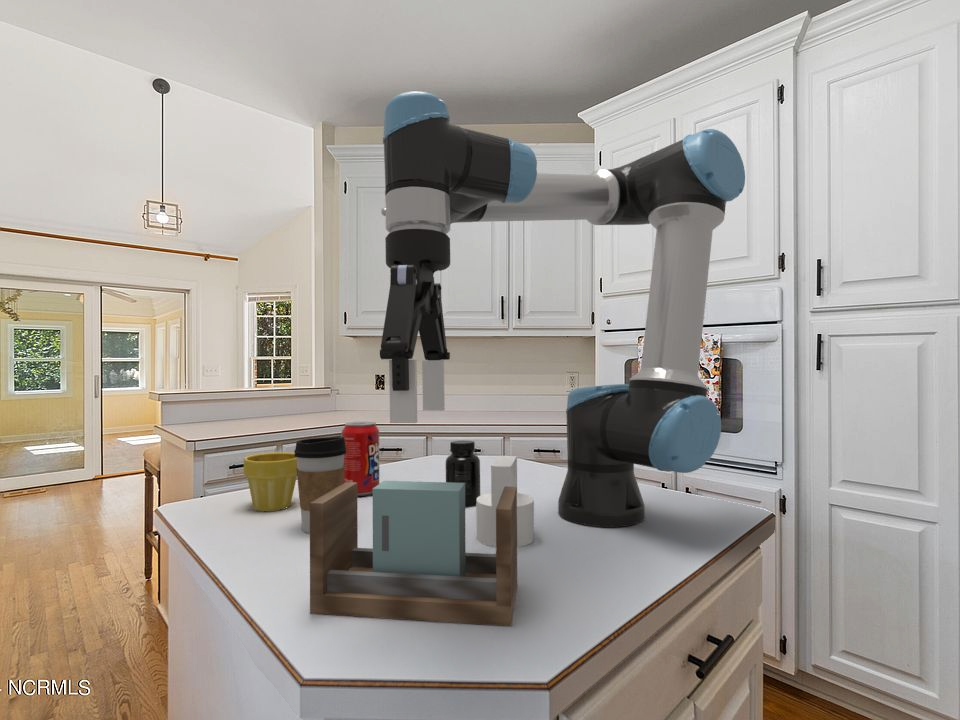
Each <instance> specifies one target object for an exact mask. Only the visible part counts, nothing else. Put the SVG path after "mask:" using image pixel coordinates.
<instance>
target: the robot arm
mask: <svg viewBox="0 0 960 720" xmlns="http://www.w3.org/2000/svg"><path fill="white" fill-rule="evenodd" d="M384 111H385V112H384V120H383V138H382V144H383V154H384V159H383V160H384V182H385V183H384V184H385V185H384V186H385V190H384V195H385V197H384V198H385V199H384V200H385V202H384V203H385V207H382V208H381V215H382V216H384V217H385V229H386V231H387V232H388V234H387V235H386V236H385V239H384V240H385V264H386V266H387V267H388V268H389V269H390V275H389V276H390V279H389V281H390V285H389V290H388V299H387V304H386V311H385V317H384V323H383V330H382V337H381V344H380V349H379V357H380V359H381V360H388V363H389V365H388V371H389V373H388V377H389V381H388V383H389V385H388V386H389V423H390V424H417V423H418V379H417V378H418V375H417V373H418V371H417V369H418V368H417V361H418V360H417V359H413V357H414V355H415V354H414V353H415V348H416V343H417V341H418V340H417V339H418V334H419V338H420V342H421V347H422V351H423V357H424V359H425V360H422V362H421V363H422V364H421V366H422V367H421V368H422V369H421V370H422V379H421V380H422V411H423V412H425V411H429V412H430V411H432V412H434V411H435V412H436V411H438V412H439V411H440V412H442V411H445V410H446V409H445V408H446V407H445V361H446V360H448V361H449V360H450V359H451V353H450V352H449V350H448V348H447V347H448V346H447V338H446V330H445V322H444V321H445V319H444V313H443V312H444V311H443V304H442V303H443V302H442V286H441V283H440V282H436V283H435V277H434V274H435V272H438V271H439V272H440V271H445V270H447V269H448V268H449V267H450V266H451V238H450V236H449V235H448V233H449V232H450V231H451V225H452V224H455V223H457V224H458V223H460V224H461V223H474V222H475V223H482V222H483V223H484V222H486V223H487V222H528V221H531V222H534V221H538V222H539V221H576V220H577V221H578V220H579V221H583V220H584V221H587V222H589V224H591V225H594V226H638V225H639V226H640V225H641V226H642V225H649V224H650V225H651V226H652V227H653V228H654V229H655V230H656V233H655V242H654V250H653V260H652V267H651V268H652V269H651V277H650V284H649V293H648V304H647V313H646V319H645V329H644V338H643V347H642V355H641V363H640V364H641V365H640V369H639V370H638V372H637V373H635V374H634V375H633V376H632V377H630V378H629V382H628V383H625V384H624V383H623V384H622V383H621V384H605V385H593V386H592V385H591V386H585V387H578V388H575V389H572V390H571V391H570V392H568V395H567V404H566V410H565V413H566V440H567V441H566V443H567V444H566V448H567V451H566V452H567V453H566V454H567V470H566V475H565V478H564V481H563V484H562V487H561V491H560V494H559V497H558V501H557V503H558V504H557V505H558V507H557V509H558V510H557V511H558V512H557V513H558V515H559V516H560V517H561V518H563V519H564V520H567V521H570V522H573V523H575V524H580V525H585V526H592V527H601V528H602V527H603V528H605V527H606V528H610V527H611V528H612V527H613V528H616V527H617V528H618V527H627V526H628V527H629V526H632V525H637V524H640V523H641V522H643V521H644V520H645V518H646V515H645V514H646V512H645V511H646V507H645V502H644V499H643V497H642V494H641V493H642V492H641V489H640V486H639V484H638V482H637V478H636V474H635V465H638V466H643V467H648V468H653V469H656V470H657V471H660V472H667V473H668V472H673V473H678V474H679V473H681V474H688V473H692V472H695V471H697V470H699V469H701V468H702V467H703V466H705V465H706V462H708V461H710V460H711V458H712V457H713V455H714V453H715V451H716V450H717V448H718V445H719V442H720V438H721V433H722V419H721V415H719V408H718V406H717V405H716V404H715V402H714V401H712V400H711V399H709V398H708V396H707V394H708V386H707V385H706V384H705V383H704V382H703V381H702V380H701V378H700V377H699V369H700V368H699V367H700V358H701V347H702V340H703V339H702V338H703V328H704V319H705V318H704V317H705V308H706V301H707V300H706V299H707V291H708V289H707V288H708V281H709V280H708V279H709V271H710V259H711V251H712V250H711V249H712V241H713V231H714V230H715V229H716V228H717V227H719V226H720V225H721V224H722V223H723V222H724V221H725V215H726V205H727V202H733V200H734V199H737V198H738V197H739V196H740V194H742V192H743V191H744V188H745V185H746V172H745V171H746V170H745V166H744V165H745V164H744V162H743V159H742V156H741V154H740V152H739V150H738V148H737V146H736V145H735V143H734V142H733V141H732V139H731V138H730V137H729V136H728V135H727V134H726V133H724V132H722V131H720V130H718V129H714V128H706V129H703V130H701V131H698V132H696V133H693V134H687V135H685V136H684V137H683V138H682V139H681V140H678V141H676V142H674V143H671V144H670V145H668V146H665V147H663V148H660V149H658V150H656V151H653V152H651V153H648V154H646V155H645V156H642V157H639V158H638V159H635V160H633V161H631V162H628V163H626V164H624V165H621V166H619V167H615V168H612V169H611V168H610V169H609V168H608V169H605V168H603V169H602V168H601V169H596V170H595V171H593V172H591V173H589V174H576V173H575V174H570V173H545V172H544V173H543V172H542V173H540V172H538V171H537V169H538V161H537V156H536V154H535V152H534V151H533V149H532V148H531V147H530V146H528V145H527V144H524V143H521V142H517V141H515V140H512V139H510V138H509V137H506V138H505V137H503V136H502V137H501V136H497V135H493V134H489V133H485V132H482V131H481V132H480V131H478V130H472V129H468V128H463V127H461V126H459V125H455V124H452V123H450V120H451V117H450V114H449V108H448V106H447V104H446V102H445V101H444V100H443V99H440V98H439V97H438V96H437V95H436V94H433V93H430V92H426V91H416V90H414V91H406V92H402V93H400V94H399V93H398V94H397V95H395V96H394V97H392V99H391V100H389V101H388V103H387V105H386V107H385V110H384Z"/></svg>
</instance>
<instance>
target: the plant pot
mask: <svg viewBox="0 0 960 720" xmlns="http://www.w3.org/2000/svg"><path fill="white" fill-rule="evenodd" d="M294 454H295V453H294V452H290V451H289V452H286V451H285V452H284V451H283V452H282V451H281V452H280V451H278V452H276V451H275V452H262V453H255V454H251V455H247V456H245V457H244V459H243V476H244V477H245V478H247V483H248V487H249V493H250V497H251V503H252V508H253V509H254V510H255V511H257V510H258V511H257V512H264V511H267V512H275V511H274V510H277V511H281V510H280V509H282V510H284V508H285V509H287V508H286V507H288V506H289V507H291V505H292V500H293V495H294V490H295V488H296V487H295V486H296V481H297V470H296V469H297V468H298V467H297V457H295V456H294ZM289 507H288V508H289Z"/></svg>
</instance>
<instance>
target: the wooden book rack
mask: <svg viewBox="0 0 960 720" xmlns="http://www.w3.org/2000/svg"><path fill="white" fill-rule="evenodd" d="M517 493H518V486H517V487H509V486H505V487H504V489H503V492H502V494H501V497H500V500H499V502H498V505H497V508H496V547H495V551H496V552H495V553H482V552H481V553H478V552H466V576H465V577H460V576H441V575H421V574H402V573H382V572H373V547H372V548H371V547H370V548H367V547H358V546H359V545H358V544H359V543H358V541H359V539H358V536H359V535H358V530H359V529H358V496H357V482H346V483H344V484H342V485H341V486H339V487H337V488H335V489H334V490H332V491H330V492H328V493H326V494H325V495H323V496H321V497H319V498H318V499H316V500H314V501H312V502H311V503H310V533H309V613H310V614H313V613H314V614H316V615H328V616H329V615H331V616H348V617H362V618H375V619H376V618H377V619H378V618H379V619H392V620H394V619H395V620H396V619H397V620H409V621H426V622H440V623H453V624H454V623H456V624H457V623H458V624H468V625H469V624H471V625H487V626H501V627H502V626H503V627H512V623H513V616H514V611H515V610H514V609H515V603H516V598H517V597H516V596H517V591H518V547H517Z"/></svg>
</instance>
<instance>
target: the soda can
mask: <svg viewBox="0 0 960 720" xmlns="http://www.w3.org/2000/svg"><path fill="white" fill-rule="evenodd" d="M340 437H344V439H345V446H346V452H347V453H346V454H344V464H343V465H344V466H345V467H344V478H343V484H344V483H346V482H357V497H367V496H372V495H373V488H374V487H376V486H377V485H379V484H380V429H379V428H378V427H377V423H376V421H350V422H345V423H344V427H343V429H342V430H341V435H340Z"/></svg>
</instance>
